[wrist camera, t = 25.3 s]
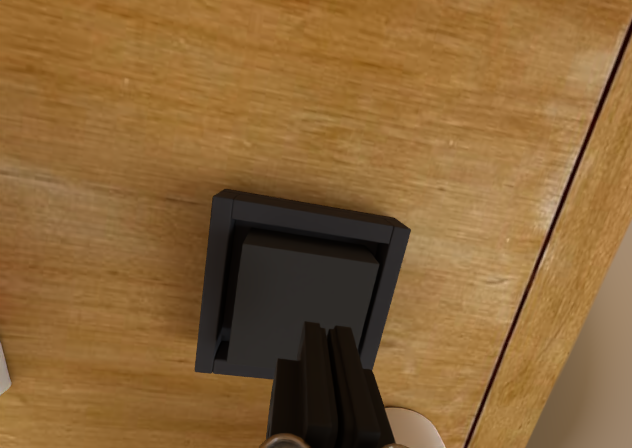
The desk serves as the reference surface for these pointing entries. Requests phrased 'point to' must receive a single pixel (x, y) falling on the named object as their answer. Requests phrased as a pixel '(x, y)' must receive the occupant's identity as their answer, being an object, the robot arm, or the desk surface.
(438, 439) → the cup
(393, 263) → the socket pad
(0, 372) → the ink box
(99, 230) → the desk surface
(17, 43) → the desk surface
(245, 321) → the black pad
